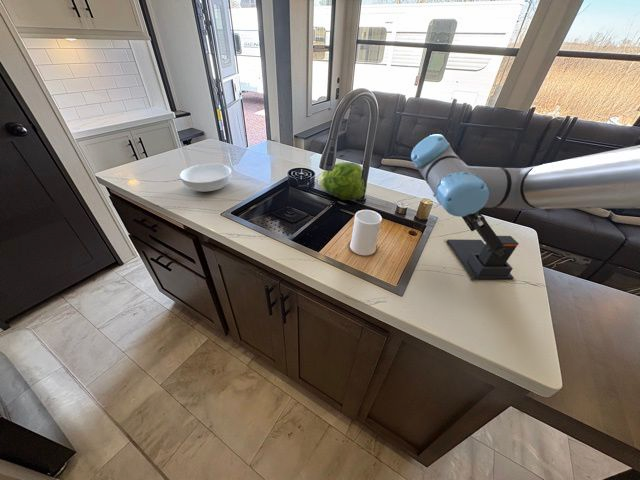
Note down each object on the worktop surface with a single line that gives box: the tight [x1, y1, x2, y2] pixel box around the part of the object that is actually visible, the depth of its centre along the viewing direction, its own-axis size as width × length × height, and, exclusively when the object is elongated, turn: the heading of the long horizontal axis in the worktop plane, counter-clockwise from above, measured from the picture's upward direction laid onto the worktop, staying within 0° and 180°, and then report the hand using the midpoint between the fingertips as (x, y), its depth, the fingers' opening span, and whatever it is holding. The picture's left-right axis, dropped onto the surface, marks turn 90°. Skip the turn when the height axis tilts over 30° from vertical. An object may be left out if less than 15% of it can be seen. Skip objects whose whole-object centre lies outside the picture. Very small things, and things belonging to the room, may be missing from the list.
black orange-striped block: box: [477, 235, 519, 267], centre depth 74 cm, size 4×6×11 cm, turn 92°
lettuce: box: [317, 161, 368, 201], centre depth 108 cm, size 16×21×15 cm
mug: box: [349, 209, 383, 256], centre depth 81 cm, size 12×8×12 cm
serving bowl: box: [179, 162, 233, 192], centre depth 111 cm, size 21×21×7 cm
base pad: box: [446, 239, 514, 281], centre depth 80 cm, size 18×12×4 cm, turn 2°
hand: (488, 242), depth 70 cm, fingers open, 13 cm apart
